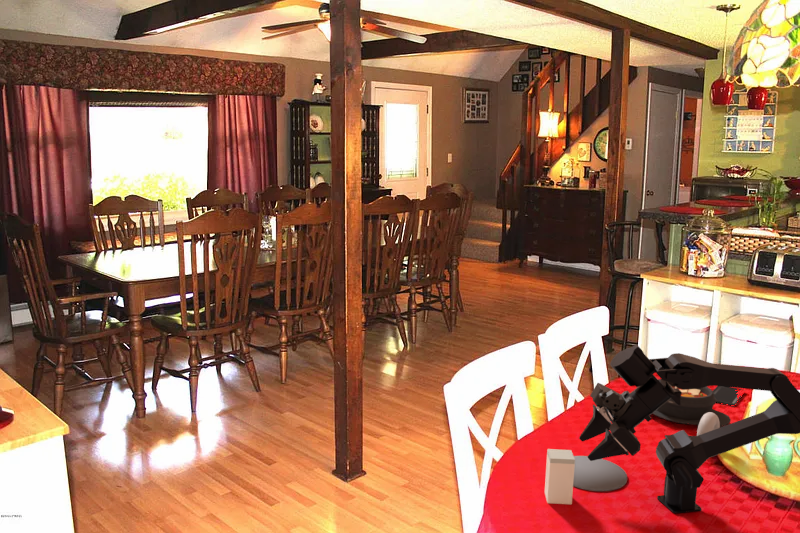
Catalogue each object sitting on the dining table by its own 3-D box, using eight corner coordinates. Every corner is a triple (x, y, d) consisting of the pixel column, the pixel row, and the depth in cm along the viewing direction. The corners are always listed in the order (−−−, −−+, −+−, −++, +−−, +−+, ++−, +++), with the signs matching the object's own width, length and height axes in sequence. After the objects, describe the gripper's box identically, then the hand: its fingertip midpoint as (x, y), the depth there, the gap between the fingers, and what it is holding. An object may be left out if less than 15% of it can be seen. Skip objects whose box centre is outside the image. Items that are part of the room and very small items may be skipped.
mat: (640, 488, 156) (641, 485, 156) (573, 494, 153) (573, 491, 152) (605, 455, 171) (605, 453, 171) (542, 460, 168) (543, 458, 168)
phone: (745, 390, 217) (734, 404, 205) (745, 393, 217) (734, 408, 205) (718, 384, 221) (705, 397, 209) (717, 387, 221) (705, 401, 209)
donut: (704, 443, 180) (708, 405, 178) (719, 447, 178) (723, 409, 176) (692, 456, 172) (696, 417, 170) (707, 460, 170) (711, 421, 168)
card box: (568, 493, 153) (571, 450, 151) (571, 504, 148) (575, 459, 146) (544, 492, 153) (547, 448, 151) (547, 503, 149) (550, 458, 147)
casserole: (622, 413, 198) (625, 384, 197) (651, 396, 212) (654, 369, 210) (714, 440, 182) (718, 409, 180) (740, 421, 195) (743, 391, 193)
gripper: (607, 359, 154) (552, 405, 157) (628, 389, 136) (566, 440, 138) (641, 395, 155) (585, 440, 158) (667, 430, 137) (604, 480, 139)
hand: (584, 449), depth 148 cm, fingers open, 9 cm apart
